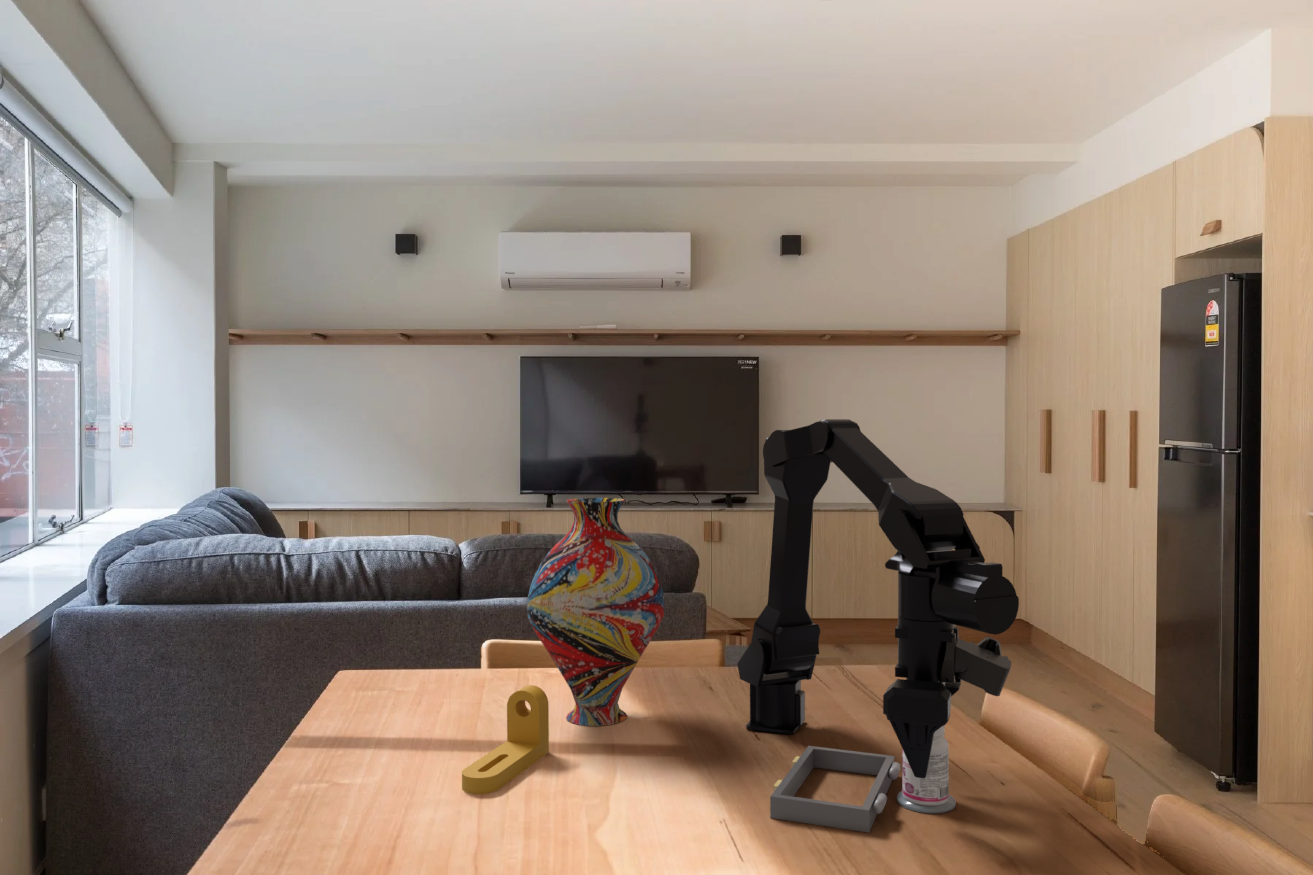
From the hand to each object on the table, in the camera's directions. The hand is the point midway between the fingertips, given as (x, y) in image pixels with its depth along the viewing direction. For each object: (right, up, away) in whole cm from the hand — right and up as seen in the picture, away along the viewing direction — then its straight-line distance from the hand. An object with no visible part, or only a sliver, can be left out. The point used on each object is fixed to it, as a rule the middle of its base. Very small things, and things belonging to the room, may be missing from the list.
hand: (925, 762), depth 104 cm
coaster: (0, -4, 0) cm, 4 cm away
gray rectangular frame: (-9, -4, +2) cm, 10 cm away
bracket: (-46, -5, +10) cm, 48 cm away
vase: (-37, -4, +31) cm, 48 cm away
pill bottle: (0, -4, 0) cm, 4 cm away
